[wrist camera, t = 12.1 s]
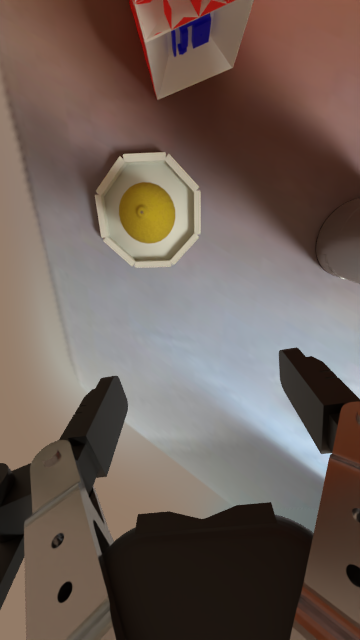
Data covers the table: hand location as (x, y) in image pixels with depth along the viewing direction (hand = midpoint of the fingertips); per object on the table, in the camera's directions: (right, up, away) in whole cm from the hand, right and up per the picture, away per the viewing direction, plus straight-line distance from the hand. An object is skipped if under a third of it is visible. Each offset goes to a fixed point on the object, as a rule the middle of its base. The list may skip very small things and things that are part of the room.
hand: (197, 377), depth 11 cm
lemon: (-4, +15, +15) cm, 22 cm away
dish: (-4, +15, +16) cm, 23 cm away
